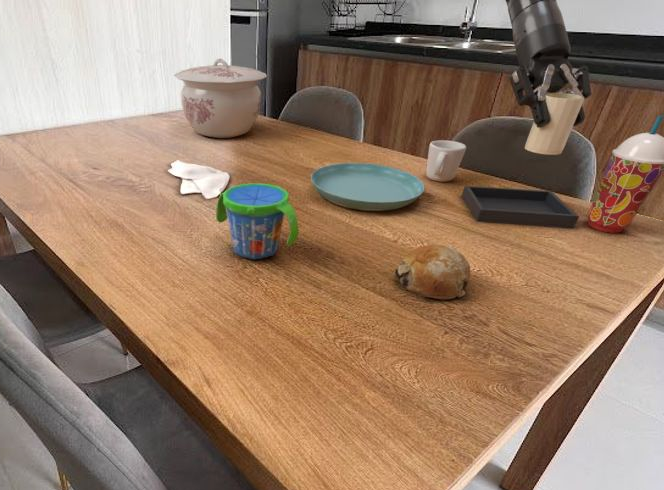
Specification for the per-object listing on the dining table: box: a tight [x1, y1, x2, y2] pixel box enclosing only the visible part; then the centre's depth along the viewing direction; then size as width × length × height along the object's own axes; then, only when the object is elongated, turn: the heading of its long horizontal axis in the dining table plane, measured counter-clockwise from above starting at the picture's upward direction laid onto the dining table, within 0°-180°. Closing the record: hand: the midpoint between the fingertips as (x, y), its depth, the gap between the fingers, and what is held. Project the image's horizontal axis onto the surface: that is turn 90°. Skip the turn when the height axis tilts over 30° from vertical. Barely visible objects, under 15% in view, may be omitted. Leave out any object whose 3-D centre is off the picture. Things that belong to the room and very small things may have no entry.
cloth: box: [167, 159, 230, 200], centre depth 106 cm, size 26×14×2 cm, turn 17°
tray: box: [461, 185, 580, 229], centre depth 92 cm, size 18×14×2 cm
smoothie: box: [586, 115, 664, 234], centre depth 81 cm, size 8×8×20 cm
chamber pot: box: [173, 58, 268, 139], centre depth 137 cm, size 28×28×21 cm
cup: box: [425, 139, 467, 183], centre depth 105 cm, size 11×8×8 cm
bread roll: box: [394, 244, 471, 300], centre depth 67 cm, size 10×10×8 cm
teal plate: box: [310, 162, 425, 212], centre depth 99 cm, size 24×24×3 cm
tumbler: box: [524, 92, 585, 156], centre depth 79 cm, size 6×6×9 cm
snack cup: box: [215, 182, 299, 261], centre depth 74 cm, size 16×10×10 cm
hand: (561, 124), depth 78 cm, fingers closed on tumbler, 6 cm apart
